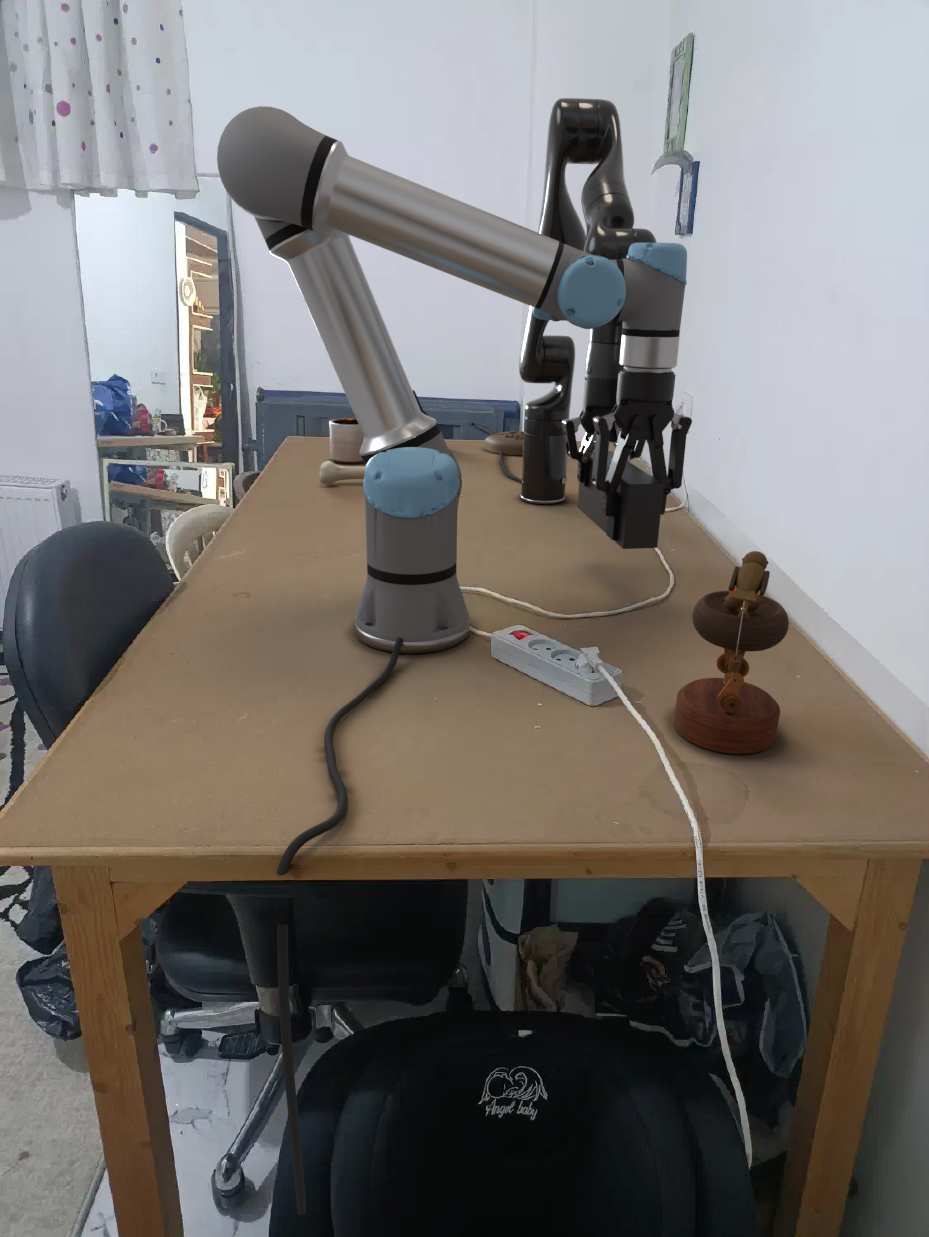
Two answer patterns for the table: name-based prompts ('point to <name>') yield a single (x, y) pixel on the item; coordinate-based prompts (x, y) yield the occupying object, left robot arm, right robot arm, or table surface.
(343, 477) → the dog toy
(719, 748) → the music box
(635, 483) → the bar
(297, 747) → the table surface
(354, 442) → the planter
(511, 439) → the brown flat rounded piece
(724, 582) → the table surface
